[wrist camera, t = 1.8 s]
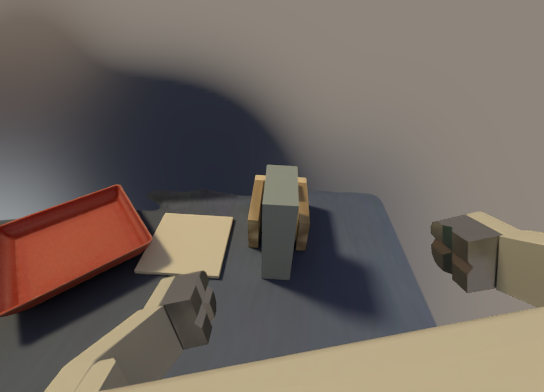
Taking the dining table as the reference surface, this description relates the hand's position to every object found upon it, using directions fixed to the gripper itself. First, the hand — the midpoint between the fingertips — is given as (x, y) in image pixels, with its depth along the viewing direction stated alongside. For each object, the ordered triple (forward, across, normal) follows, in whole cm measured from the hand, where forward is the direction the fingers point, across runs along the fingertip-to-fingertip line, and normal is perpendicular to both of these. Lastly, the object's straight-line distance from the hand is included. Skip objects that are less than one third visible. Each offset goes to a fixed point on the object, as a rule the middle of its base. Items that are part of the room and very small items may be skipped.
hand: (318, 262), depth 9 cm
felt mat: (+29, +17, +12) cm, 36 cm away
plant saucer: (+28, +33, +8) cm, 44 cm away
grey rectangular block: (+27, +4, +16) cm, 32 cm away
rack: (+34, +3, +14) cm, 36 cm away
